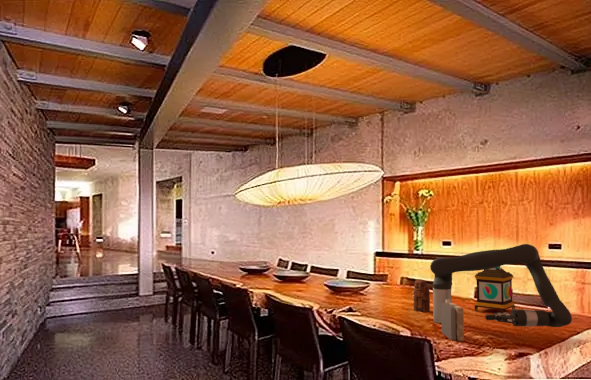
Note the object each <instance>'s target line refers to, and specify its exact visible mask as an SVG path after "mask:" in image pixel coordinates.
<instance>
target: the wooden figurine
mask: <svg viewBox="0 0 591 380" xmlns="http://www.w3.org/2000/svg"><path fill="white" fill-rule="evenodd" d="M413 286H414V287H413V288H414V289H413V310H414V311H417V312H423V313H429V312H430V310H431V309H430V308H431V307H430V306H431V303H430V302H431V300H430V299H431V297H430V295H431V293H430V287H429V285H428V283H427V281H426V280H424V279H417V280H415V281H414V285H413Z"/></svg>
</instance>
